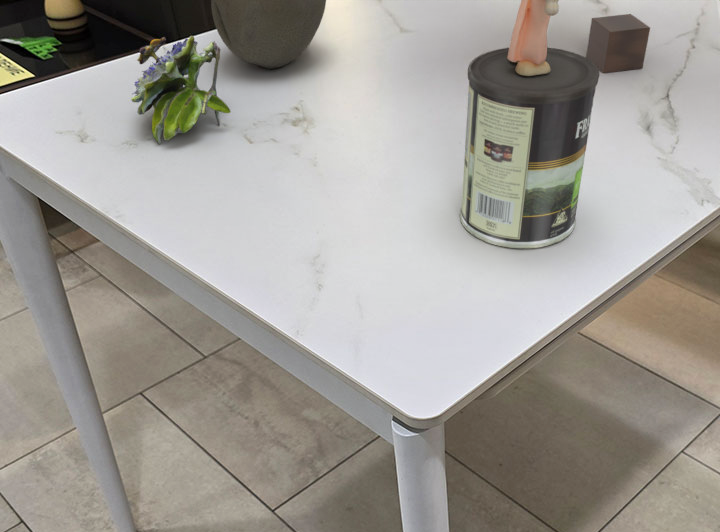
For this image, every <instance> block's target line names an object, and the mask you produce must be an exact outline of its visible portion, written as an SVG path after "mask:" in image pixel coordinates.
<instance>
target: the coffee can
mask: <svg viewBox="0 0 720 532" xmlns="http://www.w3.org/2000/svg"><path fill="white" fill-rule="evenodd" d="M508 52H509V47H503V48H498V49H493V50H489V51H487V52H484V53H482V54H480V55H478V56H477V57H475V58H474V59H473V60H471V62H470V63H469V64H468V67H467V79H468V94H467V109H466V110H467V111H466V129H465V142H464V143H465V144H464V157H463V158H464V159H463V160H464V161H463V175H462V177H463V178H462V192H461V208H460V211H459V218H460V221H461V224H462V226H463V227H464V229H465V230H466V231H467V232H468V233H470V234H471V235H472V236H473V237H474V238H476V239H479V240H481V241H483V242H486V243H489V244H491V245H495V246H499V247H504V248H508V249H509V248H510V249H517V250H518V249H538V248H544V247H548V246H551V245H555V244H557V243H560V242H561V241H563V240H564V239H566V238H568V236H570V235H571V234H572V232H573V230H574V229H575V226H576V221H577V220H576V216H577V209H578V202H579V195H580V188H581V182H582V176H583V170H584V164H585V163H584V162H585V158H586V157H585V156H586V151H587V145H588V139H589V132H590V124H591V118H592V113H593V107H594V99H595V94H596V89H597V88H596V87H597V85H598V83H599V79H600V70H599V69H598V67H597V66H596V65H595V64H594V63H593V62H592V61H590V60H589V59H587V58H586V56H583V55H581V54H579V53H577V52H576V53H575V52H572V51H569V50H565V49H561V48H556V47H548V46H547V56H546V60H545V61H546V62H547V63H548V64H549V66H550V69H551V70H550V72H549V73H546V74H540V75H533V76H523V75H520V74H518V73H517V72H516V71H515V68H516V66H517V63H516V62H511V61H509V60H508V58H507V57H508Z"/></svg>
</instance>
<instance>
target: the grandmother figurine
mask: <svg viewBox="0 0 720 532" xmlns="http://www.w3.org/2000/svg"><path fill="white" fill-rule="evenodd" d="M559 10H560V6H559V0H520V3H519V7H518V10H517V14H516V18H515V23H514V27H513V30H512V33H511V38H510V42H509V47H508V48H509V52H508V57H507V58H508V60H509V61H511V62H516V63H517V66H516V68H515V71H516V72H517V73H518V74H520V75H523V76H533V75H540V74H546V73H549V72H550V70H551V69H550V66H549V64H548V63H547V62H546V61H545V60H546V56H547V47H548V37H547V33H548V27H549V24H550V19H551V17H552V16H556V15H557V14H558V13H559Z"/></svg>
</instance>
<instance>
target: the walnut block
mask: <svg viewBox="0 0 720 532" xmlns="http://www.w3.org/2000/svg"><path fill="white" fill-rule="evenodd" d="M589 28H590V29H589V34H588V40H587V47H586V48H587V49H586V54H585V58H587V59H589V60H590V61H592V62H593V63H594V64H595V65H596V66H597V67H598V70H599V72H601V73H602V74H607V73H609V74H610V73H616V72H625V71H633V70H641V69H643V68H644V62H645V57H646V51H647V48H648V43H649V37H650V31H651V27H650V26H649V25H648V24H646V23H644V22H643V21H641V20H640V19H639V18H637V17H636V16H634V15H633V14H631V13H627V14H626V13H625V14H617V15H607V16H598V17H592V18H591V21H590V27H589Z"/></svg>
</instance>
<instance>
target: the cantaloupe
mask: <svg viewBox="0 0 720 532" xmlns="http://www.w3.org/2000/svg"><path fill="white" fill-rule="evenodd" d="M210 3H211V4H210V6H211V7H210V9H211V15H212V19H213V23H214V26H215V28H216V31H217V33H218V35H219V37H220V39H221V40H222V42H223V44H224V45H225V46H226V48H227V50H229V51H230V52H231V53H232V54H233V55H234V57H236V58H238V60H241V61H244V62H246V63H249V64H253V65H256V66H258V67H261V68H264V69H277V68H278V69H279V68H282V67H283V66H286V65H287V64H290V63H291V62H293V61H294V60H296V59H297V58H299V56H301V55H302V54H303V53H304V52H305V51H306V50H307V48H309V46H310V44H311V43H312V41H313V39H314V37H315V36H316V33H317V32H318V29H319V28H320V25H321V23H322V20H323V17H324V14H325V9H326V5H327V0H210Z"/></svg>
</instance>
